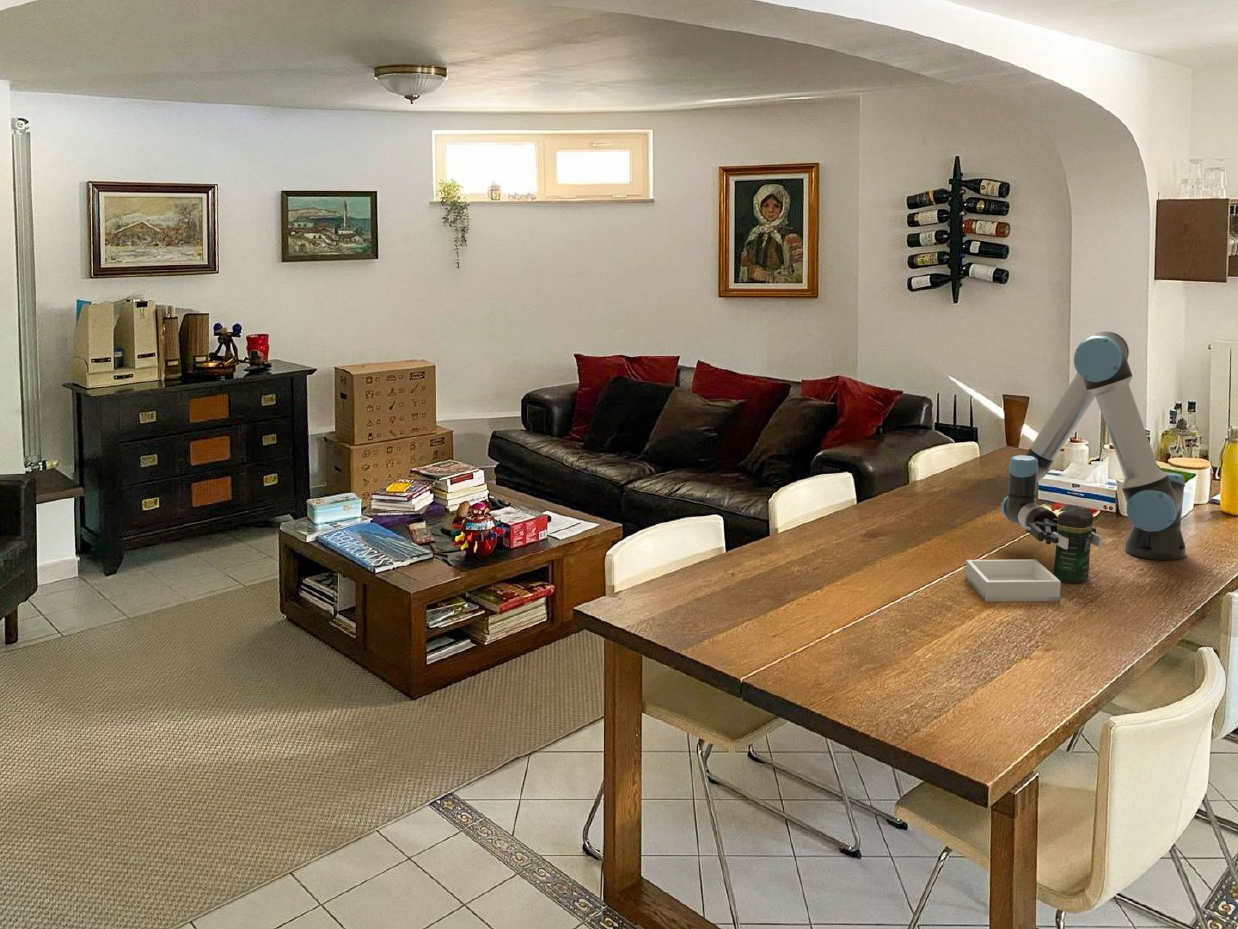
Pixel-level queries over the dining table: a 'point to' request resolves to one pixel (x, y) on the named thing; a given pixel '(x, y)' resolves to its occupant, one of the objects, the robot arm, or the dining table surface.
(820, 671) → the dining table surface
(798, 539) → the dining table surface
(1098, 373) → the robot arm
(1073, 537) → the coffee jar
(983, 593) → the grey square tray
